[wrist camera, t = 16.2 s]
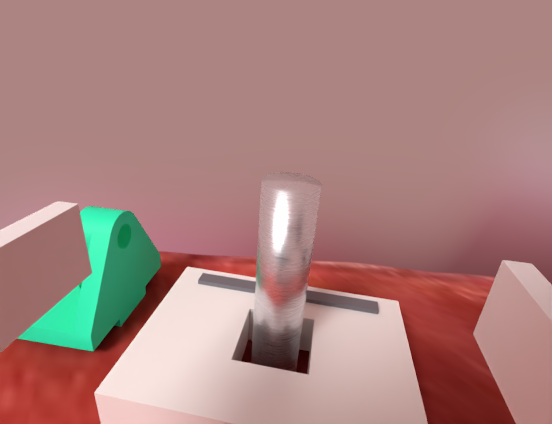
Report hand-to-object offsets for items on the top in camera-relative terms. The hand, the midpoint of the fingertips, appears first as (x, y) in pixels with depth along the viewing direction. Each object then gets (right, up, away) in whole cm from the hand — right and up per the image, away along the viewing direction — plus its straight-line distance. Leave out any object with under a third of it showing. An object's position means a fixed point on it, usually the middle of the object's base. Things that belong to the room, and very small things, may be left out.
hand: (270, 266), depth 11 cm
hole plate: (0, -11, +16) cm, 20 cm away
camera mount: (-17, -7, +22) cm, 29 cm away
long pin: (0, -11, +16) cm, 20 cm away
